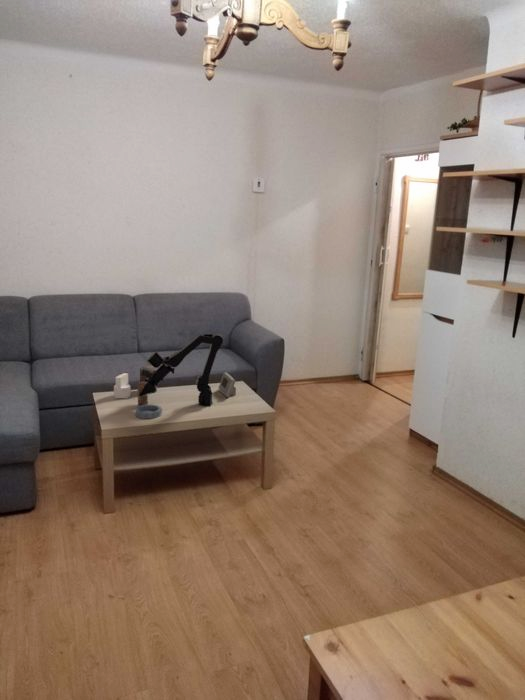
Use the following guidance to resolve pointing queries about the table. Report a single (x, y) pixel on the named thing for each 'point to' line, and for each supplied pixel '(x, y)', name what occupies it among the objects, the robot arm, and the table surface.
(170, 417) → the table surface
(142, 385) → the brown tapered cylinder
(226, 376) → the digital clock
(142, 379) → the pillar candle
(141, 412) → the ceramic ring dish
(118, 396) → the cylinder with rectangular tab
